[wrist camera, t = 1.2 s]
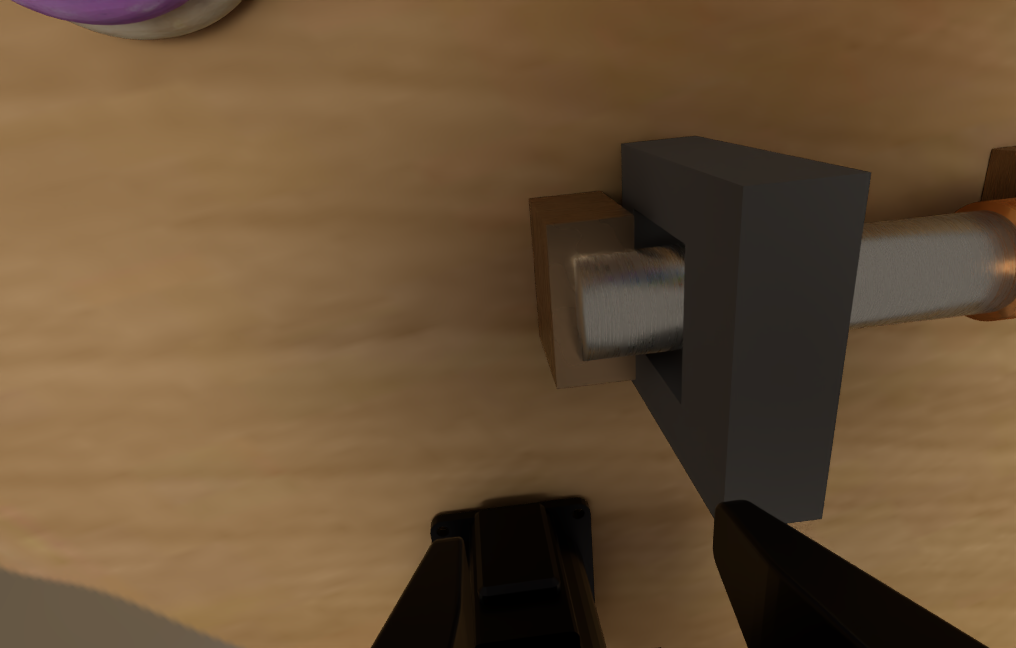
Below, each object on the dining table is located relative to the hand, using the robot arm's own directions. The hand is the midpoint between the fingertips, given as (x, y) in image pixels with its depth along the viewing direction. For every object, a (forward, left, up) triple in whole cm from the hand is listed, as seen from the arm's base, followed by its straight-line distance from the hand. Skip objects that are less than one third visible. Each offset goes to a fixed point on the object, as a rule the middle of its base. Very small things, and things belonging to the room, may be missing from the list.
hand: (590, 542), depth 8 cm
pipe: (0, -10, -13) cm, 16 cm away
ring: (0, -5, -13) cm, 14 cm away
